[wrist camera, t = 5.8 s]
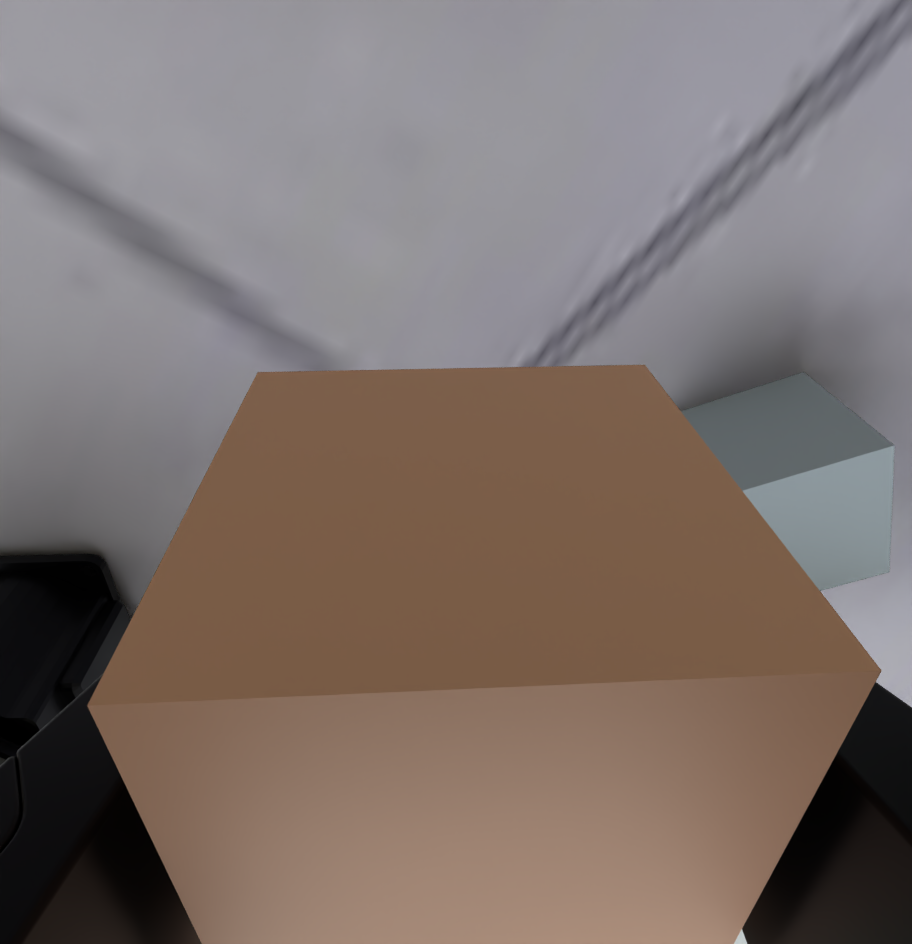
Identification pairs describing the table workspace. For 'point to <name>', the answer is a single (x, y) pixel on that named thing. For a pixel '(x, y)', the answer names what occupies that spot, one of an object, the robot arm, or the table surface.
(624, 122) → the table surface
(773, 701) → the terracotta cube
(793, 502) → the slate cube
